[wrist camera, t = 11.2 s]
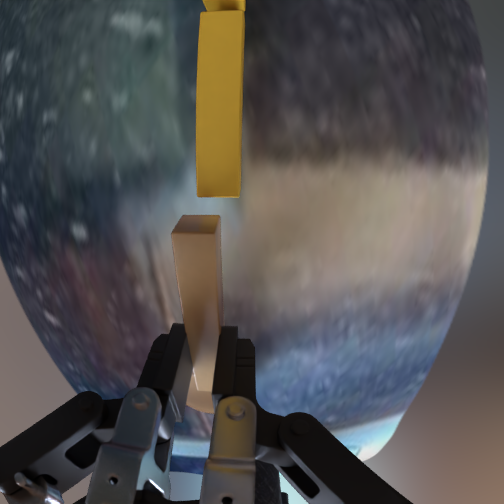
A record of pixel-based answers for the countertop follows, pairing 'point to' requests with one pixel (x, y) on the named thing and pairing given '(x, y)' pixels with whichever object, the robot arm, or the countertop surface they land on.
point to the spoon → (200, 299)
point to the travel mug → (267, 484)
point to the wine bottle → (284, 498)
